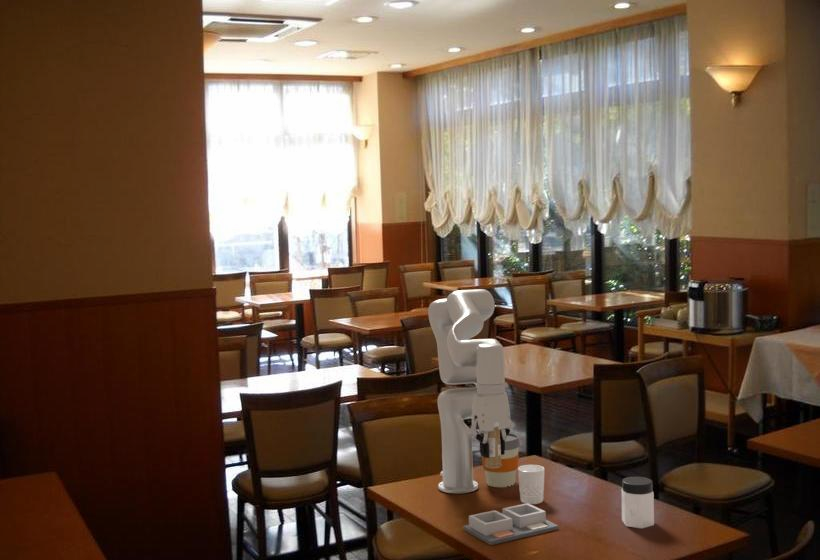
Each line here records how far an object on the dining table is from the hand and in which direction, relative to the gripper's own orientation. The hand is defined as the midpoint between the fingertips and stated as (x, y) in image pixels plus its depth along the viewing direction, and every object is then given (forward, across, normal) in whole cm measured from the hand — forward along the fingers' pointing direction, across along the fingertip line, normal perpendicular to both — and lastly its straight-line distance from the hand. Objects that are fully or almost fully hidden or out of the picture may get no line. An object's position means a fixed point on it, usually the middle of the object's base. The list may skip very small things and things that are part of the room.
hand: (492, 454), depth 255 cm
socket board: (+21, -4, +2) cm, 22 cm away
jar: (+21, -36, +17) cm, 45 cm away
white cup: (+22, -23, -15) cm, 35 cm away
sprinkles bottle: (+4, 0, 0) cm, 4 cm away
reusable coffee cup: (+22, -26, -35) cm, 48 cm away
